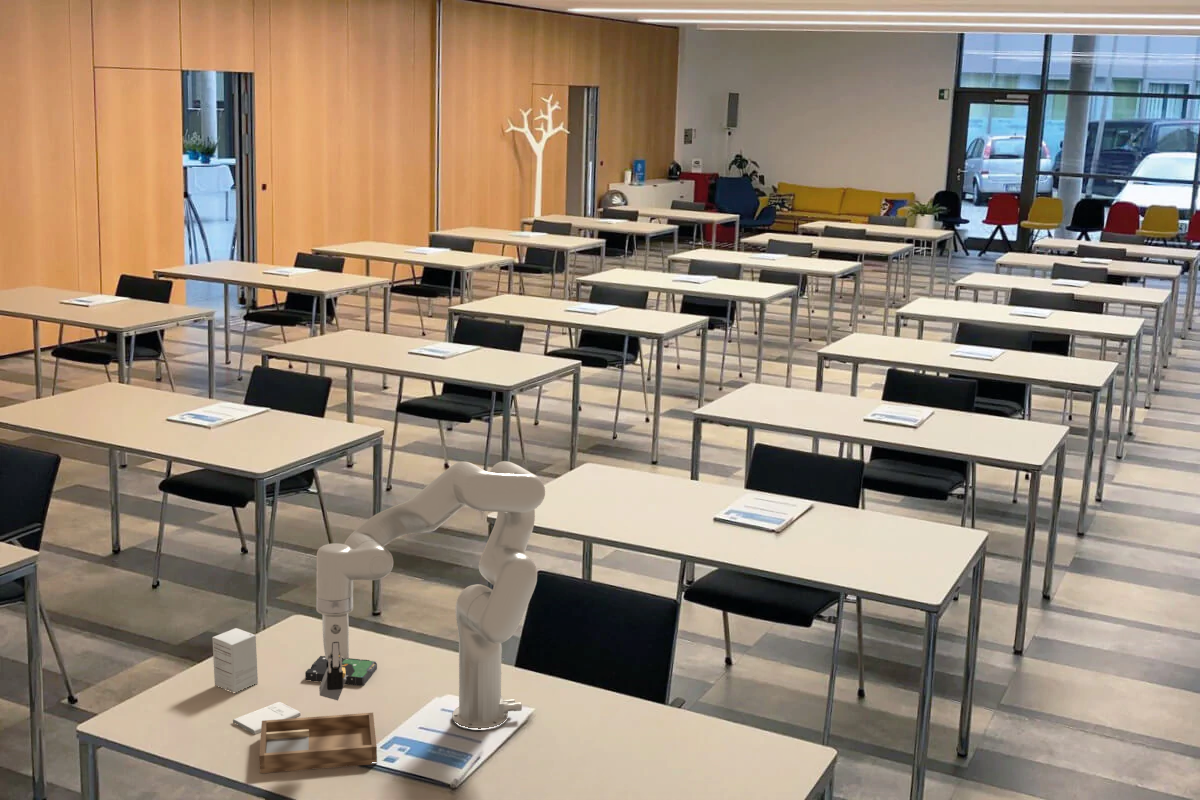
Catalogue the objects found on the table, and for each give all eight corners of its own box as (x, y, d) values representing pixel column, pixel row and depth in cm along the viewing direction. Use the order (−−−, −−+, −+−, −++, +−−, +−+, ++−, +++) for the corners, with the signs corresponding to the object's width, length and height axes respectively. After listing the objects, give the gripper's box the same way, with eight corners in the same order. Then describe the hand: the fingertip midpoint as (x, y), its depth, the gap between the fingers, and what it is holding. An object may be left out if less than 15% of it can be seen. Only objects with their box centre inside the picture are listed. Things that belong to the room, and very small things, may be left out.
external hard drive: (232, 725, 295) (278, 706, 304) (254, 737, 290) (300, 717, 299) (232, 718, 294) (278, 700, 304) (254, 730, 289) (300, 711, 298)
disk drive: (305, 683, 316) (364, 687, 314) (304, 672, 316) (363, 677, 314) (320, 665, 326) (377, 669, 324) (319, 655, 326) (377, 659, 324)
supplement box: (238, 675, 318) (236, 626, 316) (258, 684, 314) (256, 634, 311) (213, 686, 312) (211, 636, 310) (233, 694, 308) (231, 644, 305)
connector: (337, 692, 281) (347, 667, 281) (337, 700, 278) (348, 675, 277) (319, 687, 280) (329, 662, 279) (319, 695, 276) (329, 670, 276)
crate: (373, 728, 293) (373, 712, 292) (376, 763, 278) (376, 746, 277) (262, 737, 288) (261, 720, 287) (259, 773, 273) (259, 755, 272)
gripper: (355, 617, 268) (354, 700, 272) (351, 588, 284) (350, 667, 287) (317, 618, 266) (317, 702, 270) (315, 589, 282) (315, 669, 286)
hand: (334, 683), depth 279 cm, fingers closed on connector, 4 cm apart
